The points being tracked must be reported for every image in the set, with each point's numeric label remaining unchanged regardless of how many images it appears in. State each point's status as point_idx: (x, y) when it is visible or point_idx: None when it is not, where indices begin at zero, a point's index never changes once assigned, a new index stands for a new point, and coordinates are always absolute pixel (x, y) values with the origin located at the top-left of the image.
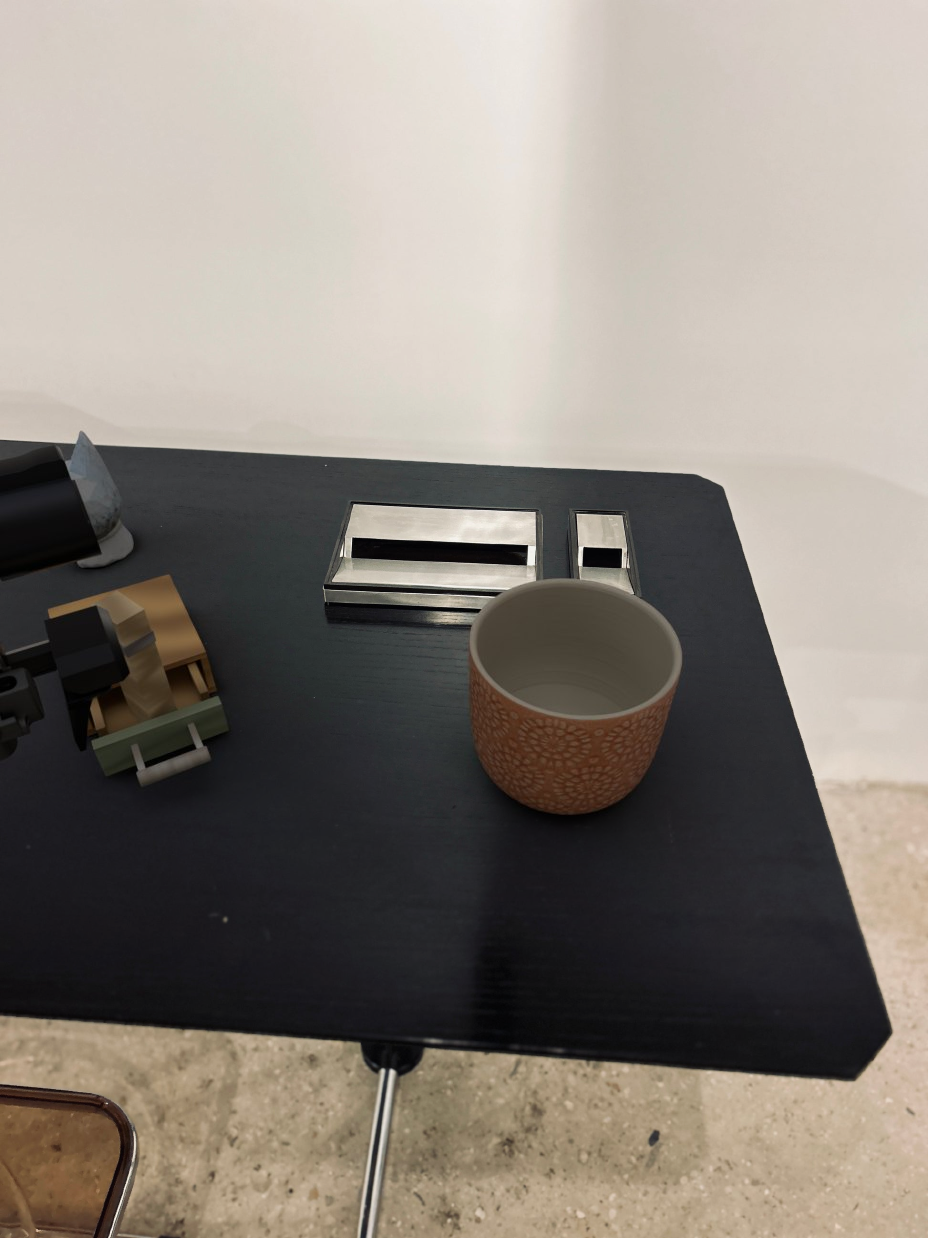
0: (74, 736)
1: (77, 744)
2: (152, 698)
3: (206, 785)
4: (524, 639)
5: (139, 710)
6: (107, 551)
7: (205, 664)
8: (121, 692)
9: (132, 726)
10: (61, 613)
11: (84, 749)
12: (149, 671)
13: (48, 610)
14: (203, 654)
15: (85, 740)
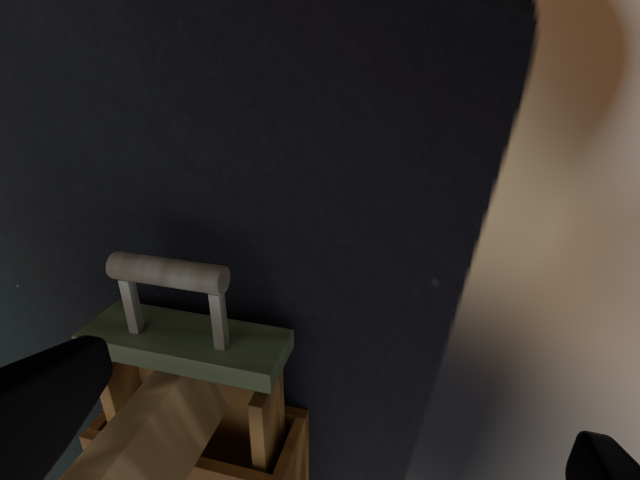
0: (4, 394)
1: (58, 362)
2: (146, 407)
3: (168, 231)
4: None
5: (197, 401)
6: None
7: (102, 417)
8: (239, 446)
9: (204, 379)
10: None
11: (81, 338)
12: (94, 460)
13: None
14: (85, 434)
15: (25, 360)
